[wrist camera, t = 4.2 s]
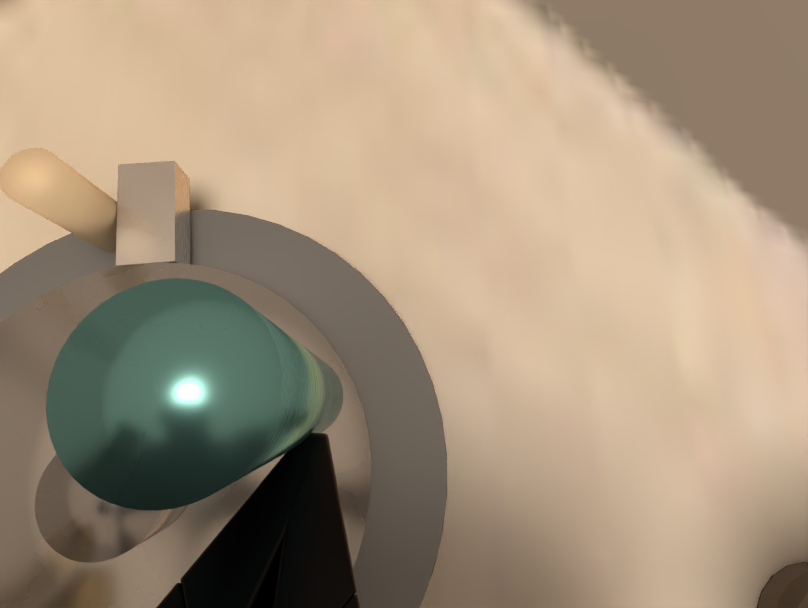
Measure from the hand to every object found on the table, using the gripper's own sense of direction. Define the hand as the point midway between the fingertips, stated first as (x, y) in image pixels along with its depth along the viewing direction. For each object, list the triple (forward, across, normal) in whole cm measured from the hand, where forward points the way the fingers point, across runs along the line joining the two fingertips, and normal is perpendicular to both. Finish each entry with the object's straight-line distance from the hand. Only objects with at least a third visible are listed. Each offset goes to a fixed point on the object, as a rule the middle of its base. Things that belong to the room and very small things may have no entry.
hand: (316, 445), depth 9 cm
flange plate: (+3, +6, +4) cm, 8 cm away
